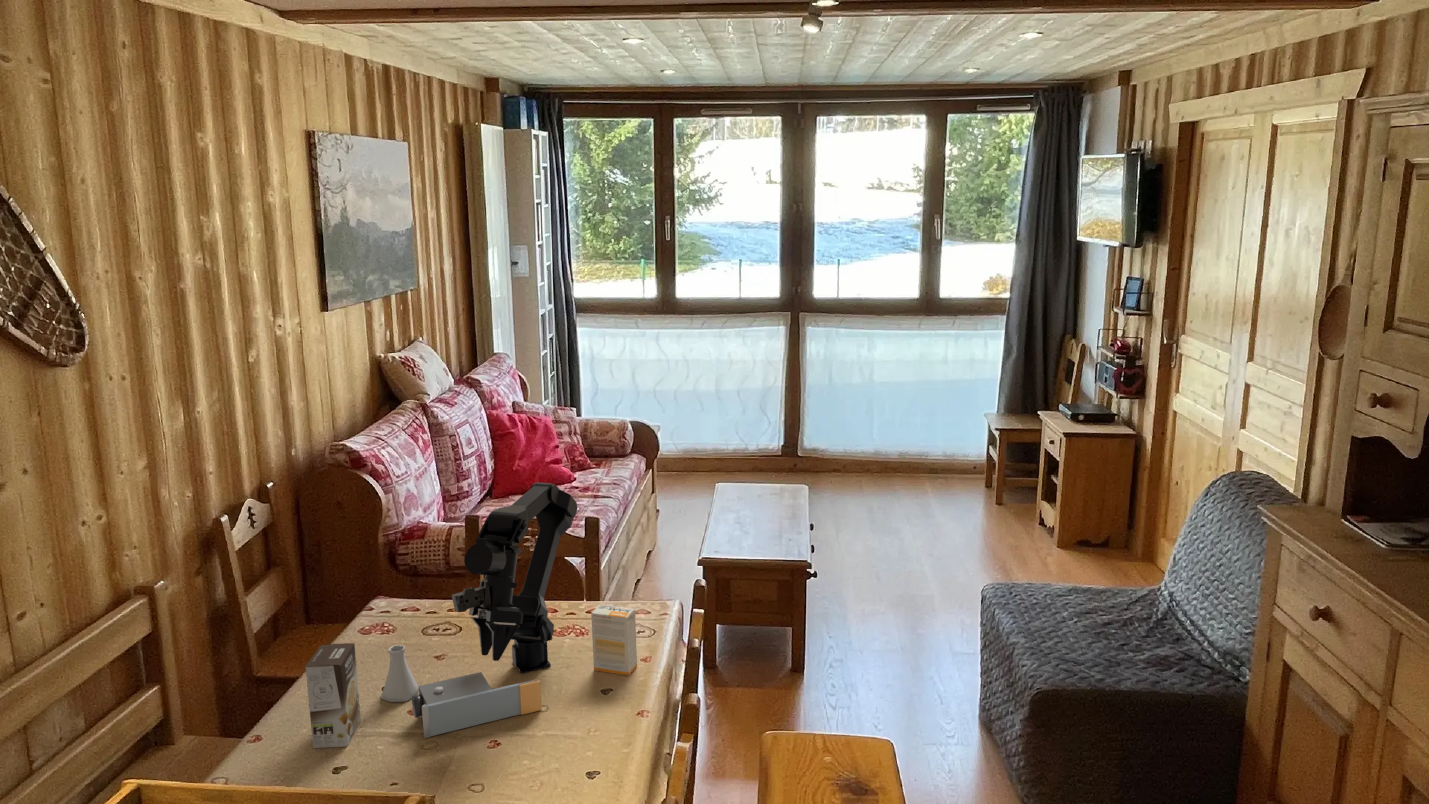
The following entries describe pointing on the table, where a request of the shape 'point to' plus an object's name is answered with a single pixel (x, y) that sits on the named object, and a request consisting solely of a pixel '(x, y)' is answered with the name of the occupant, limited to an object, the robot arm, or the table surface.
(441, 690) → the camera housing
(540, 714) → the table surface
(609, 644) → the supplement box
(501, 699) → the side door
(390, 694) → the flask
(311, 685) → the coffee box
